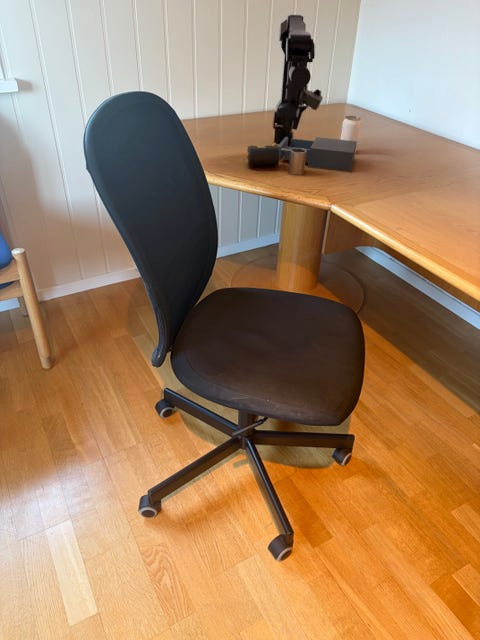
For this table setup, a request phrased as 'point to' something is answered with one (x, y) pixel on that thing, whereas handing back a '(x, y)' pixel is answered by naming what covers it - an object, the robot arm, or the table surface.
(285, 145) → the drawer
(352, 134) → the can
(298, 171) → the measuring cup
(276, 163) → the end cap
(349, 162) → the cabinet
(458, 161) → the table surface
